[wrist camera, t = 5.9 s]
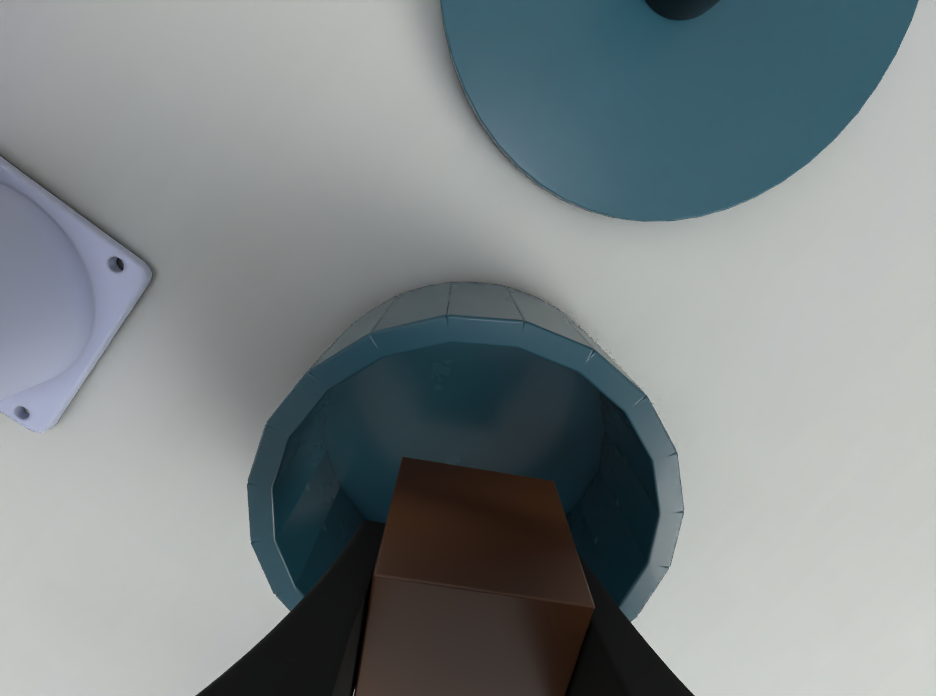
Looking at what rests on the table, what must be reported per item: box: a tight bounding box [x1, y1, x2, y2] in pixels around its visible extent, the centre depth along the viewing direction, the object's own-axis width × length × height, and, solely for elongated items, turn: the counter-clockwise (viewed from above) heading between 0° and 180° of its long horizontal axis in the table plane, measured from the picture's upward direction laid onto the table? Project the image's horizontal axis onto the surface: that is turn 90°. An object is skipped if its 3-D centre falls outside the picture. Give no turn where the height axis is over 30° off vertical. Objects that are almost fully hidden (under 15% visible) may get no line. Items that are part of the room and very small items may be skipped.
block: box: [354, 457, 595, 696], centre depth 11 cm, size 4×4×4 cm
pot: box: [247, 282, 684, 622], centre depth 15 cm, size 12×12×5 cm
